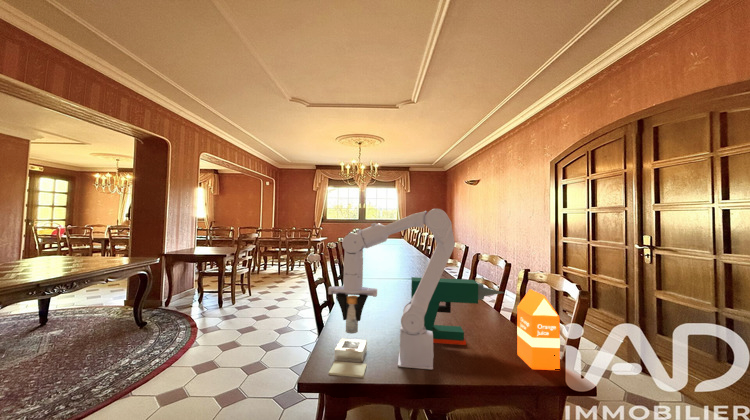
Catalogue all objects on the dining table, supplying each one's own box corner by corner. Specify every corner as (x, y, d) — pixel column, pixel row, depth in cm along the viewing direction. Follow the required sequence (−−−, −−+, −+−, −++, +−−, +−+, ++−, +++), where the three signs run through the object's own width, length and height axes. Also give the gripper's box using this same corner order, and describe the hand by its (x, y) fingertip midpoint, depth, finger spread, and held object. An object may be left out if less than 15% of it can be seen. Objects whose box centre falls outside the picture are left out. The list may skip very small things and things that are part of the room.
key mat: (366, 365, 78) (366, 363, 78) (363, 377, 72) (363, 375, 72) (334, 363, 79) (334, 361, 79) (328, 374, 73) (328, 372, 73)
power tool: (501, 338, 99) (501, 280, 100) (508, 347, 92) (509, 285, 93) (409, 333, 102) (410, 276, 103) (409, 341, 95) (410, 280, 96)
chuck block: (366, 350, 88) (366, 340, 88) (362, 362, 80) (362, 351, 80) (341, 348, 89) (341, 338, 89) (334, 360, 81) (334, 349, 81)
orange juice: (542, 355, 87) (542, 289, 88) (560, 370, 78) (560, 296, 79) (516, 354, 87) (516, 288, 88) (531, 369, 78) (531, 295, 79)
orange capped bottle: (358, 329, 86) (359, 295, 87) (356, 333, 83) (357, 299, 83) (347, 328, 87) (347, 295, 87) (344, 333, 83) (345, 298, 83)
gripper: (378, 272, 88) (377, 316, 88) (333, 270, 90) (331, 313, 90) (376, 276, 81) (374, 324, 81) (326, 274, 83) (325, 321, 83)
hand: (352, 319), depth 85 cm, fingers closed on orange capped bottle, 4 cm apart
